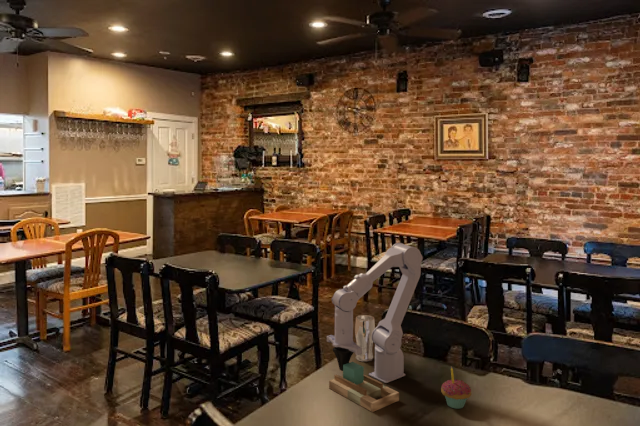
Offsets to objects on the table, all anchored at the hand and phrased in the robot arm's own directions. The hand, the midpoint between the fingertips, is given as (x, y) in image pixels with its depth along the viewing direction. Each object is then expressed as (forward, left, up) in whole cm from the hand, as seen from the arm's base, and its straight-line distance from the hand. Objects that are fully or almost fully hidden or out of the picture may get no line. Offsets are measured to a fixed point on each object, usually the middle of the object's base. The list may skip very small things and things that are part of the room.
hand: (343, 369), depth 161 cm
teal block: (0, +5, -2) cm, 5 cm away
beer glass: (-19, -10, -5) cm, 23 cm away
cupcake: (-16, +31, -5) cm, 35 cm away
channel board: (0, +9, -5) cm, 10 cm away
